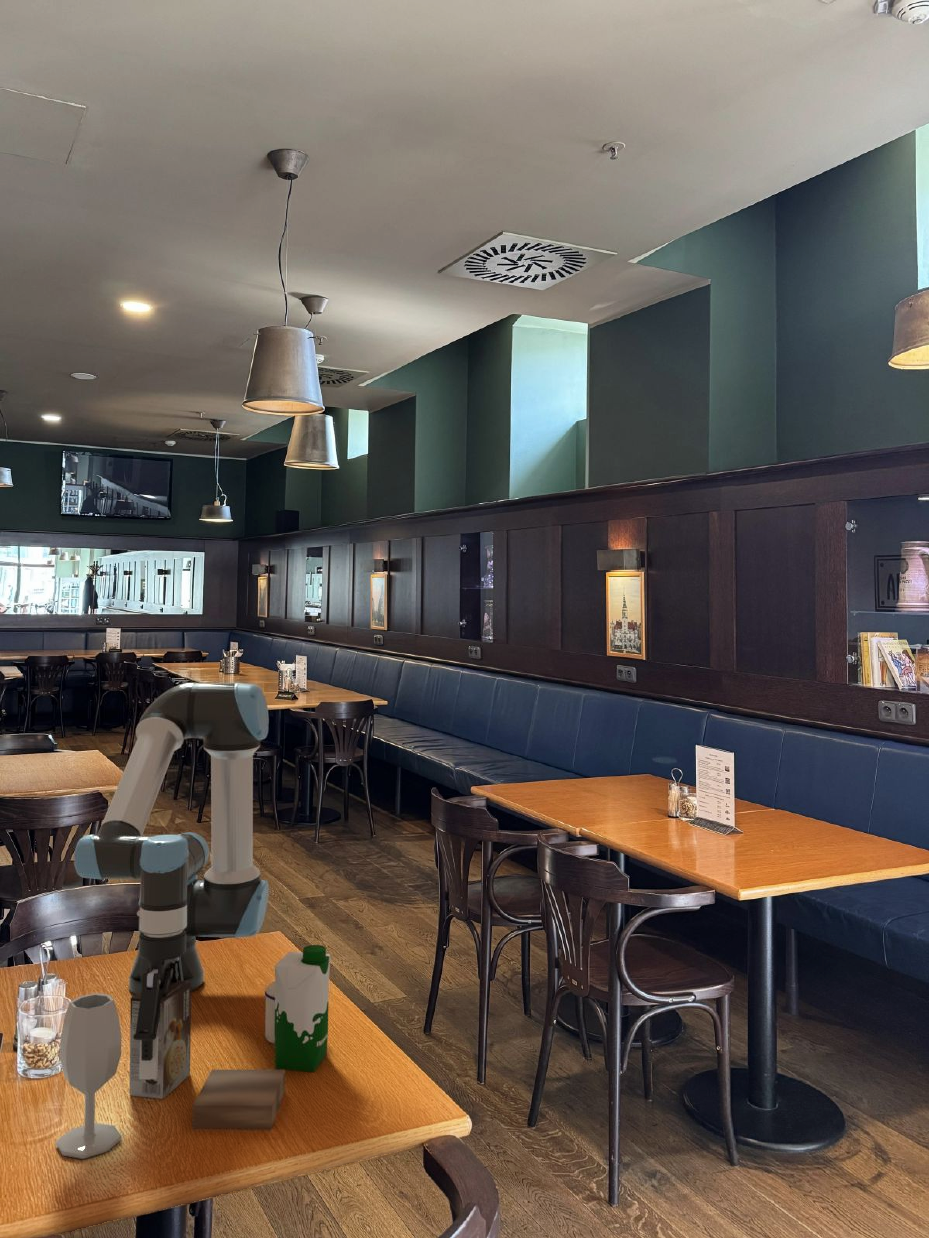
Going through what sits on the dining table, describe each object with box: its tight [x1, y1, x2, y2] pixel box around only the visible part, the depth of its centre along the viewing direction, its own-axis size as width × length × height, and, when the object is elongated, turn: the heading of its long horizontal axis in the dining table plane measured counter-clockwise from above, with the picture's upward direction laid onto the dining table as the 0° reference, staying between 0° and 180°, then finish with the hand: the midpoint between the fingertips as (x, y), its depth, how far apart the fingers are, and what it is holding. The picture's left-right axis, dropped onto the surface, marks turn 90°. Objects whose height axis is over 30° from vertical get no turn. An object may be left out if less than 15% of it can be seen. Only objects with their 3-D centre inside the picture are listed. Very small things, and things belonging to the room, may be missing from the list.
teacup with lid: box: [264, 981, 275, 1045], centre depth 181 cm, size 12×9×12 cm
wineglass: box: [55, 992, 123, 1160], centre depth 141 cm, size 9×9×21 cm
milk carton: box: [274, 944, 332, 1073], centre depth 169 cm, size 9×9×20 cm
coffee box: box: [129, 980, 192, 1100], centre depth 160 cm, size 9×6×16 cm
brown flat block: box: [191, 1069, 286, 1131], centre depth 152 cm, size 12×12×4 cm
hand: (160, 1059), depth 160 cm, fingers open, 12 cm apart
